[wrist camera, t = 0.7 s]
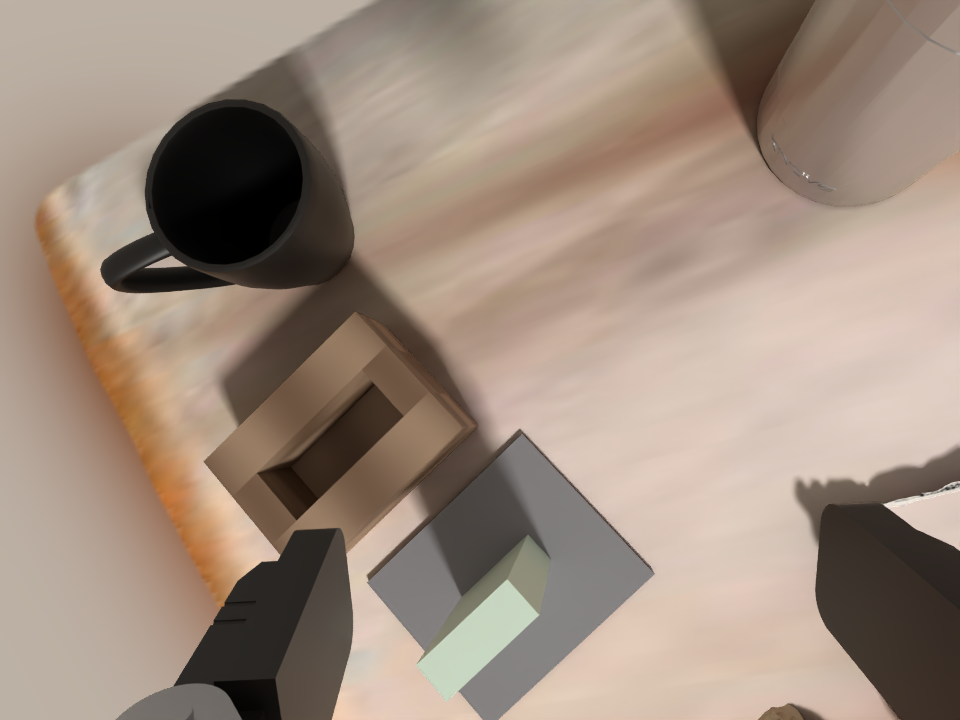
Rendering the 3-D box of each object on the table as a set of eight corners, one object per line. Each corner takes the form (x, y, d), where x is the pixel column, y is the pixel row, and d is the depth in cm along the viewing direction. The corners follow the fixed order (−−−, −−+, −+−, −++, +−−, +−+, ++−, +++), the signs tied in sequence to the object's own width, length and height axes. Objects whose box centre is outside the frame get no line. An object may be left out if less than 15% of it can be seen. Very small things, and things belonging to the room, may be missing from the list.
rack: (384, 325, 38) (355, 311, 33) (478, 426, 37) (462, 427, 32) (251, 455, 39) (203, 461, 34) (339, 560, 37) (302, 581, 32)
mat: (522, 433, 36) (521, 433, 36) (653, 572, 35) (654, 574, 34) (368, 581, 37) (367, 582, 37) (490, 724, 35) (489, 727, 35)
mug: (173, 245, 41) (51, 193, 31) (340, 148, 39) (265, 64, 30) (226, 362, 39) (115, 345, 30) (399, 265, 38) (340, 216, 29)
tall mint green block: (527, 534, 35) (507, 579, 26) (551, 559, 35) (539, 615, 25) (461, 597, 36) (415, 665, 26) (484, 622, 35) (446, 701, 26)
